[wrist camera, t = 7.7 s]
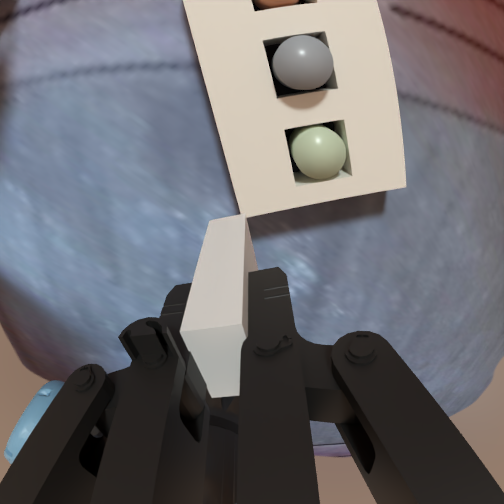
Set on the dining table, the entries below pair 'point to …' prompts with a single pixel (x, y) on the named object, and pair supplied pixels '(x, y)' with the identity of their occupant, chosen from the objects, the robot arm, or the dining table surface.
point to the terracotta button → (274, 3)
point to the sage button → (317, 151)
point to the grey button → (302, 63)
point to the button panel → (299, 99)
